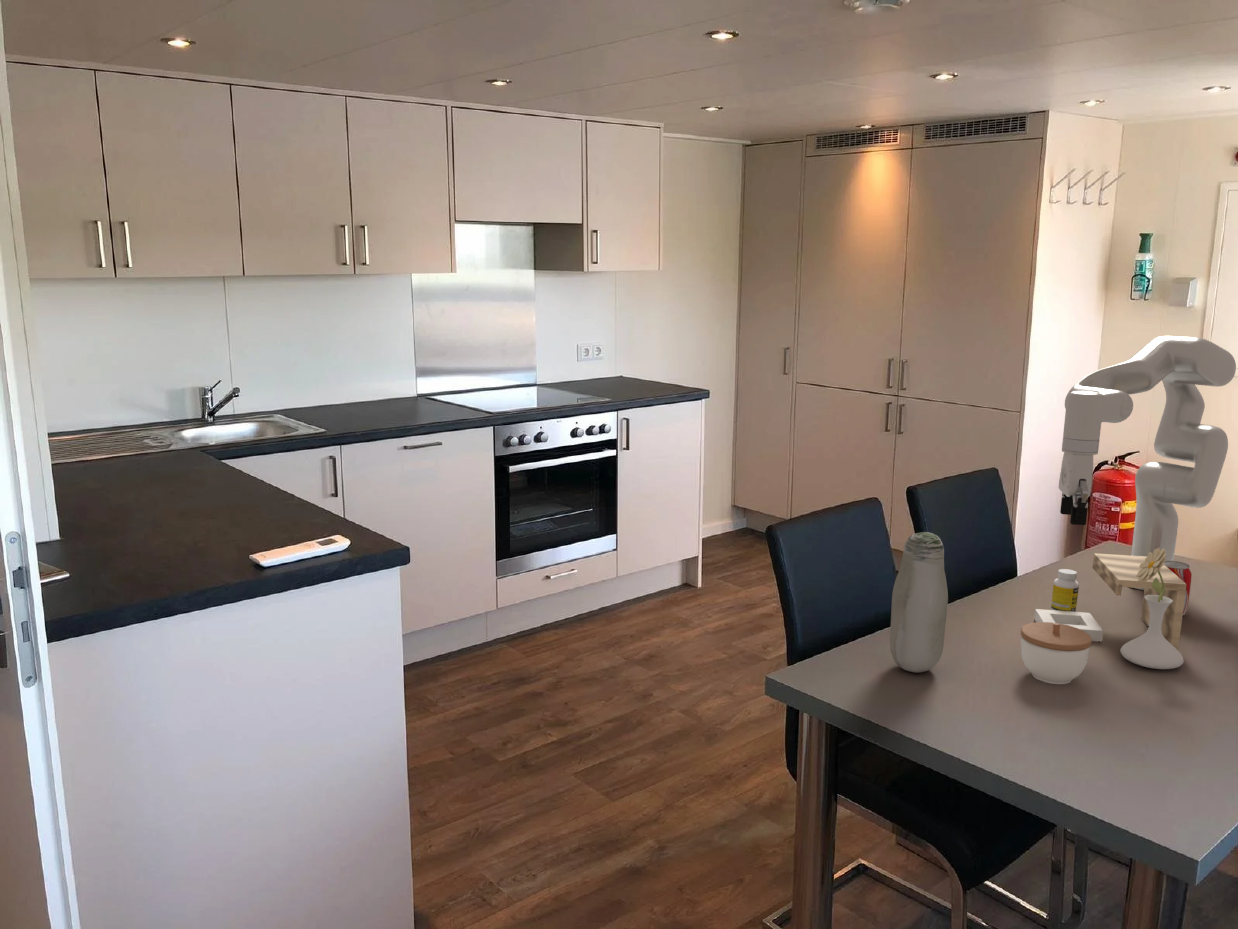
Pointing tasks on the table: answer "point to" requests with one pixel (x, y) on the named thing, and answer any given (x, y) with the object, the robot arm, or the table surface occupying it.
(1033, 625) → the lidded bowl
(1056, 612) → the socket block
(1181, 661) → the flower in vase
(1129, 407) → the robot arm
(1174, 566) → the soda can
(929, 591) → the grey bottle
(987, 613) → the table surface
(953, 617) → the table surface
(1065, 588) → the supplement bottle
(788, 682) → the table surface
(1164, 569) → the small wooden stool
